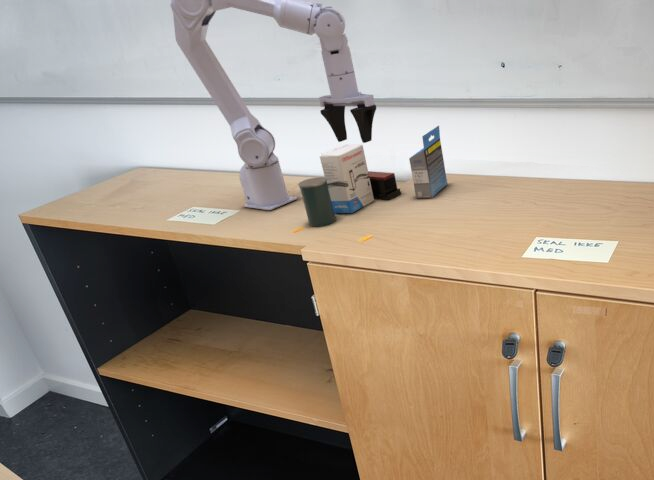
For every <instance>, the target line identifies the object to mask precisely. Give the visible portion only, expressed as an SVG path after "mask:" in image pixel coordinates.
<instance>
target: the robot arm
mask: <svg viewBox="0 0 654 480" xmlns="http://www.w3.org/2000/svg"><path fill="white" fill-rule="evenodd" d="M169 6H170V8H171V12H172V16H173V28H174V37H175V42H176V44H177V45H178V47H179V48H180V50H181V52H182V54H183V55H184V57H185V58H186V59H187V61H188V63H189V64H190V66H191V68H192V69H193V70H194V72H195V74H196V75H197V77H198V78H199V80H200V82H201V83H202V85H203V86H204V88H205V89H206V91H207V92H208V94H209V95H210V97H211V99H212V100H213V102H214V104H215V105H216V106H217V108H218V110H219V111H220V113H221V114H222V116H223V117H224V119H225V121H226V122H227V124H228V125H229V127H230V132H231V136H232V139H233V140H234V142H235V144H236V147H237V153H238V157H239V158H240V160H241V161H243V165H242V166H241V167H240V170H239V174H238V176H239V178H238V179H239V181H240V185H241V188H242V192H243V195H244V198H245V201H246V203H245V204H243V206H244V208H251V209H258V210H264V211H273V210H274V209H277V208H279V207H282V206H284V205H287V204H288V203H291V202H294V201H296V200H298V196H293V195H289V194H288V193H289V192H288V191H287V190H288V189H287V186H286V182H285V179H284V174H283V171H282V167H281V163H280V160H279V157H278V156H277V155H276V154H275V153H274V151H275V150H276V149H275V148H276V139H275V137H274V134H272V132H270V130H268V129H267V128H266V127H264V126H263V125H262V124H261V122H260V121H259V119H258V118H256V116H254V114H252V113H251V111H250V109H249V108H248V107H247V104H246V103H245V101H244V100H243V98H242V96H241V94H240V93H239V92H238V90H237V88H236V87H235V86H234V84H233V82H232V80H231V79H230V77H229V75H228V74H227V72H226V70H225V68H223V66H222V64H221V63H220V61H219V60H218V58H217V56H216V54H215V53H214V51H213V50H212V48H211V47H210V45H209V43H208V42H207V40H206V37H207V33H208V29H209V26H210V25H209V24H210V22H211V20H212V19H213V17H214V16H215V14H216V13H217V11H221V10H225V9H229V8H234V9H237V10H240V11H246V12H249V13H254V14H257V15H262V16H266V17H270V18H273V19H274V20H275V21H276V23H277V25H278V26H279V27H280V28H283V29H287V30H291V31H294V32H298V33H302V34H305V35H309V36H313V35H314V34H315V35H316V36H317V38H319V43H320V48H321V57H322V62H323V66H324V70H325V75H326V80H327V84H328V89H329V93H330V94H329V95H328V94H327V95H322V96H318V100H319V105H320V107H321V108H323V109H320V115H321V116H322V117H323V118H324V119H325V120H326V122H327V123H328V125H329V126H330V128H331V130H332V131H333V134H334V136H335V138H336V140H337V142H338V143H341V142H344V141H346V140H348V134H347V128H346V120H345V119H346V118H345V112H346V107H354V108H351V109H349V111H350V113H351V115H352V116H353V118H354V120H355V123H356V125H357V129H358V132H359V136H360V140H361V142H362V143H363V144H366V143H369V142H372V137H373V122H374V117H375V114H376V110H377V105H376V103H375V97H374V94H366V93H362V91H359V88H358V84H357V78H356V73H355V67H354V63H353V58H352V54H351V47H350V46H349V43H348V42H349V40H348V37H347V35H346V33H345V30H346V20H345V18H344V15H343V14H342V13H341V11H339V10H338V9H336V8H334V7H333V6H330V5H328V6H325V7H323V3H322V2H321V1H320V2H319V1H316V3H315V2H314V3H313V2H310V1H307V0H171V1H170V5H169Z"/></svg>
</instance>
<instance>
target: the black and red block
mask: <svg viewBox="0 0 654 480" xmlns="http://www.w3.org/2000/svg"><path fill="white" fill-rule="evenodd" d="M368 174H369V178H370V183H371V188H372V193H373V197H374V200H384V201H390V200H392V199H394V198H396V197H398V196H400V195H402V191H401V188H398V184H397V180H396V179H397V178H396V175H395V172H383V171H373V170H372V171H371V170H368Z"/></svg>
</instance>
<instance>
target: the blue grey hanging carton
mask: <svg viewBox="0 0 654 480" xmlns="http://www.w3.org/2000/svg"><path fill="white" fill-rule="evenodd" d="M431 137H433V138H432V139H431V140H430V138H431ZM421 138H422V144H423V147H422V148H421V149H420V150H418V151H417V152H415V154H413V155H411V156H410V157H409V159H408V160H409V165H410V171H411V177H412V182H413V188H414V193H415V194H414V195H415V199H433V198H434V197H435V196H436V195H438V193H439V192H440V191H441V190H442V189H444V188H445V187H446V186H447V185H448V180H447V174H446V165H445V160H444V154H443V149H442V143H441V133H440V125H437V126H436V127H434V128H433V129H431V130H429V131H428V132H427V133H425V134H424V135H422V137H421Z"/></svg>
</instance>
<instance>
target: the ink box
mask: <svg viewBox="0 0 654 480" xmlns="http://www.w3.org/2000/svg"><path fill="white" fill-rule="evenodd" d="M319 159H320V164H321V168H322V172H323V176H324V178H326V179H327V185H328V189H329V193H330V198H331V202H332V206H333V210H334V214H354V213H356V212H357V211H359V210H361V209H362V208H364V207H366V206H368V205H370V204H371V203H372V202H374V201H375V199H374V197H373V193H372V188H371V183H370V178H369V174H368V171H369V169H368V165H367V159H366V155H365V150H364V145H363V144H360V143H359V144H351V143H350V144H348V143H347V144H342V145H339V146H336V147H334V148H332V149H330V150H328V151H325V152H323V153H321V155H320V156H319Z"/></svg>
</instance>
